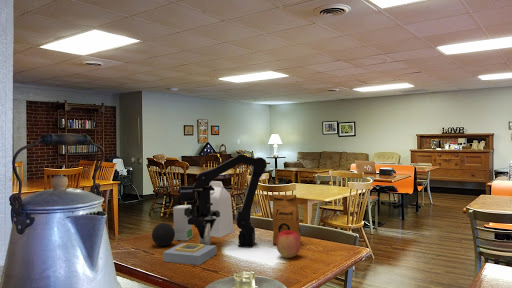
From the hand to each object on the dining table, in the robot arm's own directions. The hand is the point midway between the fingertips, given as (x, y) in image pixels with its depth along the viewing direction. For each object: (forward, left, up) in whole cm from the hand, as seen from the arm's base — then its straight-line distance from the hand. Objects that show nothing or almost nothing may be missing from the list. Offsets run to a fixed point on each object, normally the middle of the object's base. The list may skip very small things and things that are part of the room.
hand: (204, 237), depth 165 cm
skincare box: (+18, -11, -5) cm, 22 cm away
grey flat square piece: (-1, +14, -5) cm, 15 cm away
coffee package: (-32, -16, -5) cm, 36 cm away
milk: (+7, -25, -5) cm, 26 cm away
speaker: (+20, +2, -5) cm, 21 cm away
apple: (-38, +2, -5) cm, 38 cm away
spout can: (+1, 0, -3) cm, 3 cm away
